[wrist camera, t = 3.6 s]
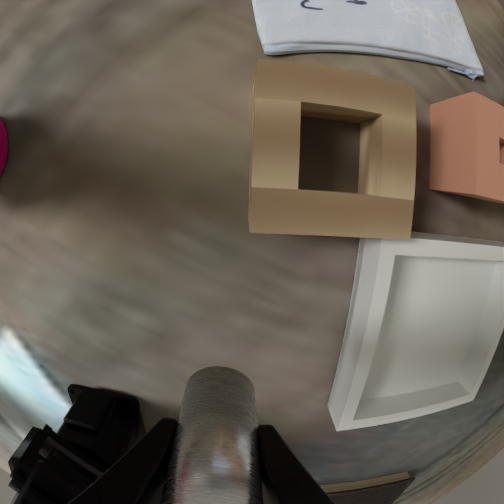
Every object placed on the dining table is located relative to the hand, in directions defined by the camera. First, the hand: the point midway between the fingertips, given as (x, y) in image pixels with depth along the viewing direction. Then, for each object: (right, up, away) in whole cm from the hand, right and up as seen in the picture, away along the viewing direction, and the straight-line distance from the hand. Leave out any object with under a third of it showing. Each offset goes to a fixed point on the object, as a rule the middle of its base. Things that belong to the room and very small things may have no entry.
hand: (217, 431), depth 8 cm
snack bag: (+9, +27, +6) cm, 29 cm away
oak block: (+5, +11, +9) cm, 15 cm away
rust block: (+16, +12, +9) cm, 22 cm away
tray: (+14, 0, +12) cm, 19 cm away
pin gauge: (0, 0, +2) cm, 2 cm away
